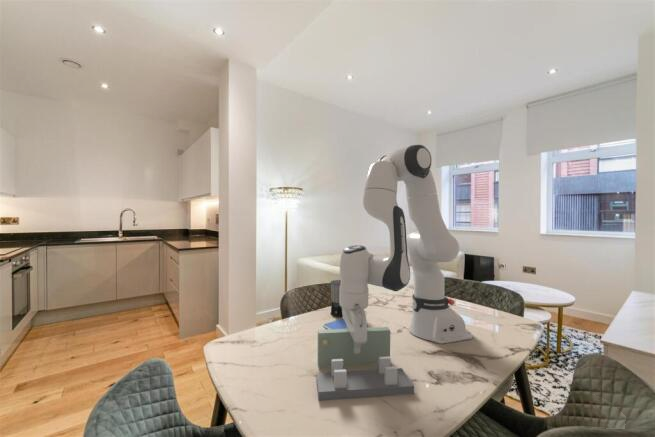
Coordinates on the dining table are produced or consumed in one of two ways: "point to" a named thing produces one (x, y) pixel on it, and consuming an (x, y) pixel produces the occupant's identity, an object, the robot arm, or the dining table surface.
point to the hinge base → (363, 381)
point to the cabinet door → (341, 346)
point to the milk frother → (335, 298)
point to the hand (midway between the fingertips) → (353, 344)
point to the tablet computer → (336, 324)
